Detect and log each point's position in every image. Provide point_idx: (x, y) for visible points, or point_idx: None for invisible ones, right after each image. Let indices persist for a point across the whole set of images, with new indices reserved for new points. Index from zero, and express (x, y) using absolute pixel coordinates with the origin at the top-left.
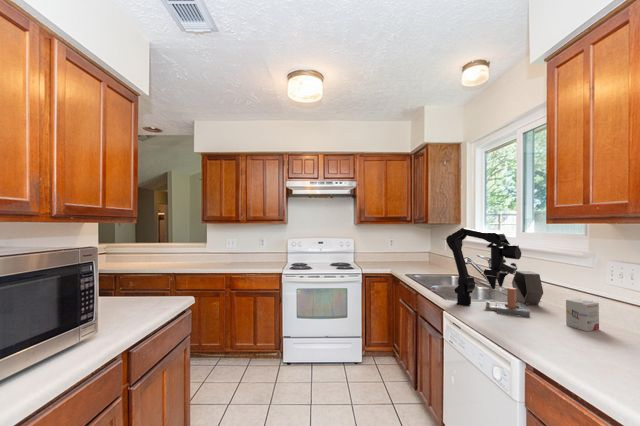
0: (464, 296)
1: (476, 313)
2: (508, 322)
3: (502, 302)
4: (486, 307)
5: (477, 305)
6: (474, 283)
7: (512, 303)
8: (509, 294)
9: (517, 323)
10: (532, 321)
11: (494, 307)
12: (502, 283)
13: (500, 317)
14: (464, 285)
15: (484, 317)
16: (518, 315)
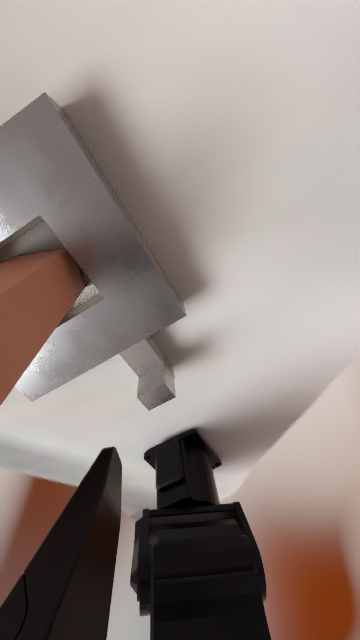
0: (212, 490)
1: (290, 348)
2: (336, 145)
3: None
4: (172, 372)
5: (138, 423)
6: (168, 590)
7: (51, 274)
8: (27, 335)
9: (314, 87)
10: (158, 24)
11: (146, 345)
12: (94, 493)
13: (261, 239)
14: (264, 575)
15: (334, 289)
16: (111, 188)
